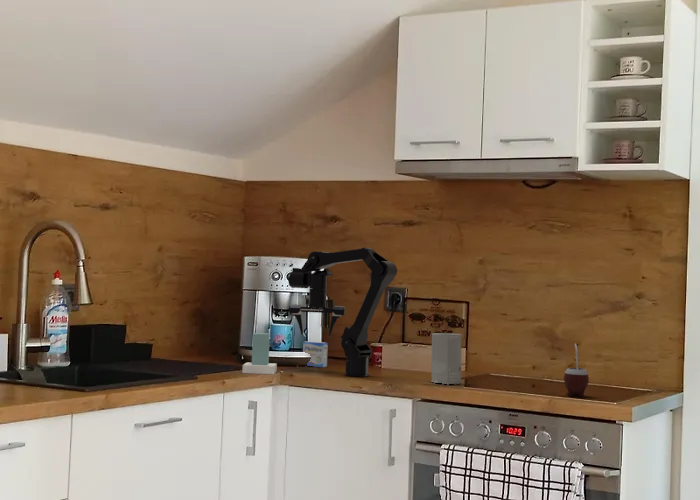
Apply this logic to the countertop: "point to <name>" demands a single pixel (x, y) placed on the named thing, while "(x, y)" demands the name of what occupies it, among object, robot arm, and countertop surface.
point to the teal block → (260, 349)
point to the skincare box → (446, 358)
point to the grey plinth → (259, 368)
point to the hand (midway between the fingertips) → (316, 335)
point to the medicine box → (316, 353)
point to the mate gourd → (576, 380)
